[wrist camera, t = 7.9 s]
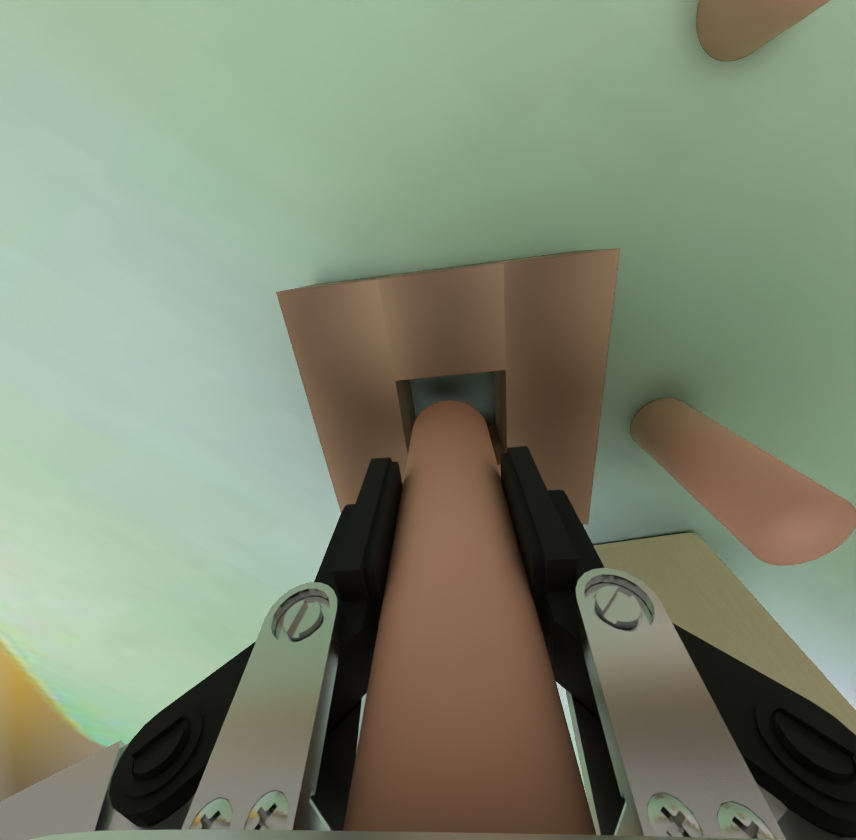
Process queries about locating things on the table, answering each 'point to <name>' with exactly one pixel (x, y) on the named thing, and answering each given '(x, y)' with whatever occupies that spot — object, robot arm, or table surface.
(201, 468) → the table surface
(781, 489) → the pin medium
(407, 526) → the pin long
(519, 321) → the hole block
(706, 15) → the pin short
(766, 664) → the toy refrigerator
